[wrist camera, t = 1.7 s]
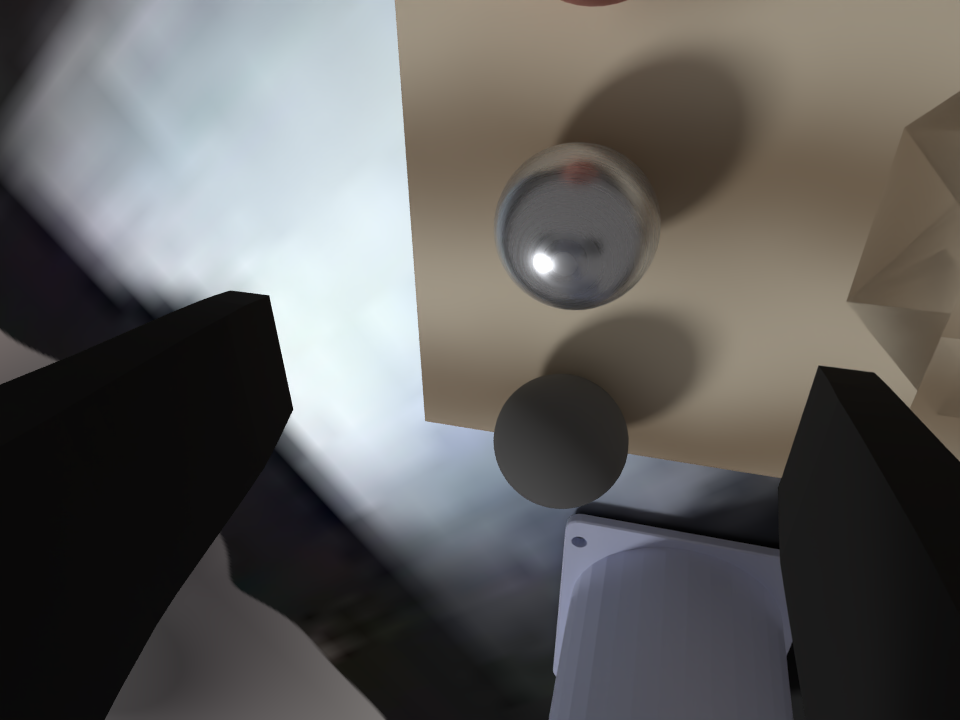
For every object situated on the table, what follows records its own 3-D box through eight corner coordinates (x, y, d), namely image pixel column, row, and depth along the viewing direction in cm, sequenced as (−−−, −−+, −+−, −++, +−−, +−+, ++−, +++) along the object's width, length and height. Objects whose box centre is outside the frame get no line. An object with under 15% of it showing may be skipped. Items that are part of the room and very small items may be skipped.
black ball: (626, 456, 19) (615, 549, 16) (508, 437, 19) (479, 523, 17) (640, 357, 17) (630, 445, 14) (510, 340, 18) (478, 421, 15)
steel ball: (653, 272, 16) (644, 351, 13) (511, 256, 16) (476, 330, 14) (674, 125, 14) (669, 185, 11) (513, 115, 14) (474, 169, 12)
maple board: (1218, 480, 18) (1282, 558, 16) (450, 370, 22) (425, 420, 20) (1830, -262, 10) (2123, -295, 8) (425, -211, 14) (378, -223, 12)
